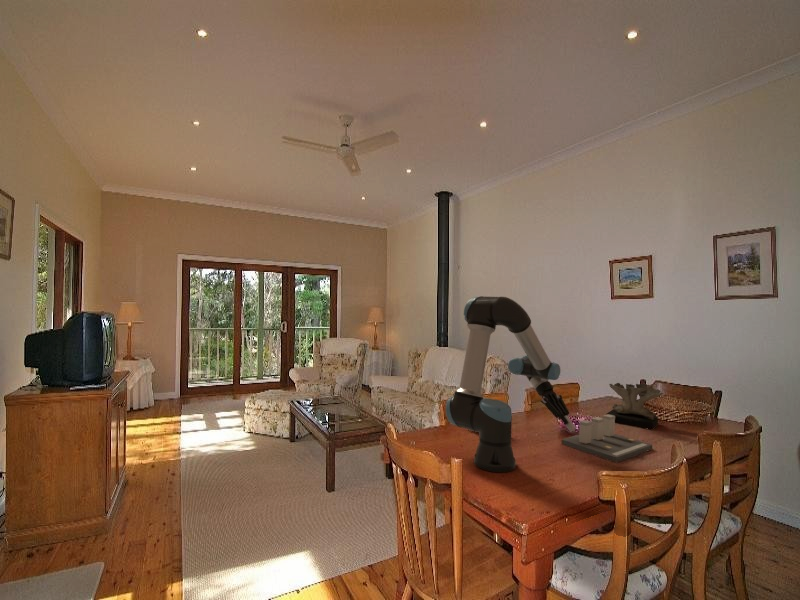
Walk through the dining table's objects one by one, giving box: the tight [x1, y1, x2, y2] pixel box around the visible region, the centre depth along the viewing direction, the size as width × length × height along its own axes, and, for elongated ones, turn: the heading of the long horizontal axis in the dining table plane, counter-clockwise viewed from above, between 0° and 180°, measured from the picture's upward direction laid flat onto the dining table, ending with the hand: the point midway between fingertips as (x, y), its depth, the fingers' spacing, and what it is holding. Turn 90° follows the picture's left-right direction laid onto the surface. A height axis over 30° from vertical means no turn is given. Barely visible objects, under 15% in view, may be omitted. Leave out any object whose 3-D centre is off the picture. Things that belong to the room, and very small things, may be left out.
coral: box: [605, 382, 664, 430], centre depth 208 cm, size 25×20×22 cm
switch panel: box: [560, 433, 653, 463], centre depth 174 cm, size 28×24×2 cm
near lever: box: [578, 419, 592, 444], centre depth 173 cm, size 4×3×9 cm
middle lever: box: [590, 416, 604, 440], centre depth 178 cm, size 4×3×9 cm
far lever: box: [602, 413, 616, 437], centre depth 183 cm, size 4×3×9 cm
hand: (573, 430), depth 178 cm, fingers closed
